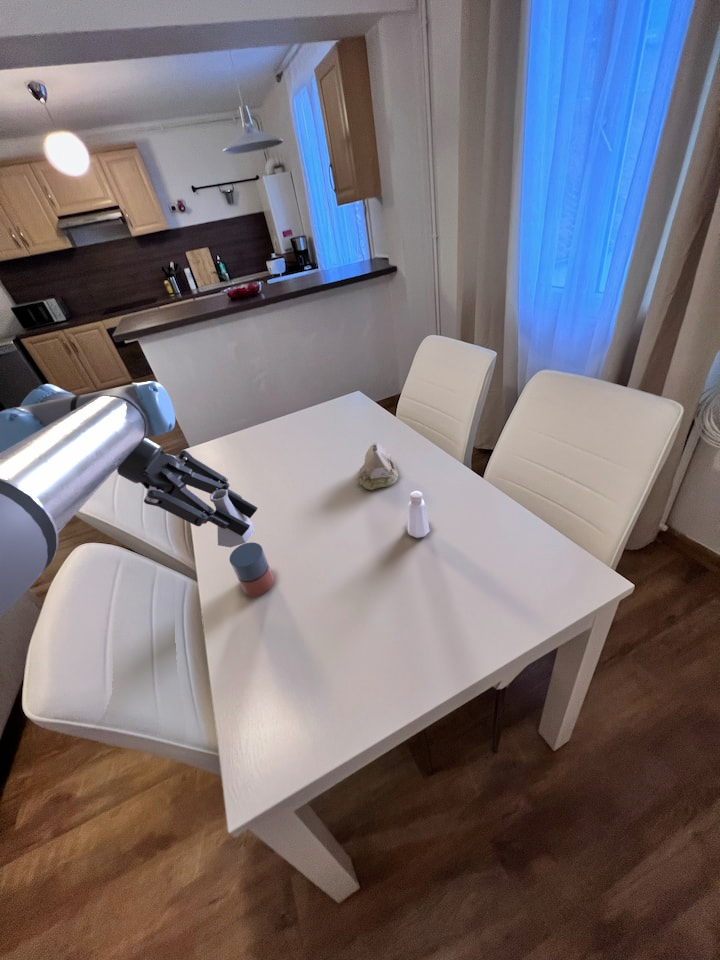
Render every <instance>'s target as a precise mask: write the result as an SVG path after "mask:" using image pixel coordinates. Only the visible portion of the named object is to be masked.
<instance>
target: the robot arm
mask: <svg viewBox="0 0 720 960" xmlns="http://www.w3.org/2000/svg"><path fill="white" fill-rule="evenodd" d="M175 427H176V412H175V408H174V405H173V403H172V400H171V397H170V395H169V394H168V392H167V390H166V389H165V387H164V386H163V385H162V384H160V383H159V382H157V381H154V380H150V381H144V382H132V383H131V384H126V385H122V386H118V387H114V388H113V387H112V388H108V389H104V390H99V391H94V392H90V393H85V394H78V395H75V394H74V393H72V392H71V391H70V392H69V391H66V390H64V389H63V388H60V387H59V386H56V385H54V384H51V383H45V384H40V385H39V386H38V387H37V388H35V389H32V390H31V391H30V392H29V393H28V394H27V395H26V397H25V398H24V399H23V401H22V402H21V404H20V406H18V407H12V408H4V409H3V410H1V411H0V618H2V616H3V615H5V613H7V612H8V611H9V610H10V609H11V608H12V607H13V606H14V605H15V604H16V603H17V602H18V601H19V600H20V599H21V598H23V596H24V595H25V594H26V593H27V592H28V591H29V589H31V587H32V586H33V585H34V584H35V582H37V580H38V579H39V578H40V576H42V574H43V573H44V571H46V569H47V568H48V567H49V566H50V564H51V563H52V562H53V560H54V559H55V556H56V555H57V552H58V547H59V533H60V532H61V530H63V529H64V528H65V527H66V525H67V524H68V523H69V522H70V521H71V520H72V518H74V516H76V514H77V513H78V512H79V511H80V510H81V509H82V508H83V506H85V504H86V503H87V502H88V501H89V500H90V498H91V497H93V496H94V494H95V493H96V492H98V490H99V489H100V488H101V486H103V484H105V482H106V481H107V480H108V479H109V478H110V477H111V475H113V474H114V473H115V471H116V470H117V471H116V473H117V474H118V475H119V476H121V477H122V478H124V479H126V480H128V481H130V482H132V483H134V484H139V483H140V484H141V485H142V486H143V487H144V488H145V489H146V490H147V491H146V492H147V493H146V496H145V497H144V498H143V502H144V503H145V504H146V505H149V506H154V507H158V508H160V509H163V510H164V511H166V512H168V513H170V514H172V515H173V516H176V517H178V518H180V519H181V520H184V521H185V522H188V523H190V524H192V525H194V526H195V527H202V525H203V524H204V525H207V523H208V522H209V523H212V524H213V525H215V526H217V527H218V526H219V527H221V528H223V529H226V528H228V529H229V530H231V531H233V532H235V533H237V534H239V535H240V536H243V535H244V533H245V532H246V531H247V530H248V529H249V527H250V525H248V524H247V523H245V522H243V521H241V520H239V519H238V518H236V517H234V516H232V515H230V514H229V513H227V512H225V511H223V510H221V509H220V508H217V509H216V508H215V509H214V508H212V507H211V506H210V505H209V504H207V503H206V502H205V501H203V500H202V499H201V498H200V497H198V496H197V495H195V493H193V492H192V491H191V490H189V489H188V488H187V487H185V486H186V485H187V486H188V487H191V488H195V489H198V490H200V491H203V492H205V493H207V494H209V495H211V494H212V493H213V492H214V491H217V490H221V489H223V490H227V491H228V498H229V500H230V501H231V503H232V504H233V505H234V507H235V508H236V509H237V510H239V511H240V512H241V513H242V514H243V515H244V516H245V517H246V518H248V519H251V518H252V517H253V516H254V514H255V513H256V512H257V511H258V507H257V506H256V505H254V504H252V503H250V502H249V501H247V500H245V499H244V498H243V497H242V496H241V495H240V494H238V493H237V492H234V491H233V490H231V489H230V484H229V482H228V481H229V479H228V478H227V477H225V476H224V475H222V474H221V473H219V472H217V471H216V470H214V469H212V468H211V467H209V466H208V465H207V464H204V463H202V462H201V461H200V460H197V458H195V457H193V456H192V454H190V453H189V452H188V451H187V450H186V449H182V450H181V451H180V452H179V453H178V454H177V455H173V454H170V453H169V454H168V453H166V452H164V451H163V448H162V446H161V445H159V444H157V443H156V442H154V441H153V440H150V439H149V438H151V437H155V438H156V437H159V436H160V435H164V434H167V433H170V432H172V431H173V430H174V428H175Z"/></svg>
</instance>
